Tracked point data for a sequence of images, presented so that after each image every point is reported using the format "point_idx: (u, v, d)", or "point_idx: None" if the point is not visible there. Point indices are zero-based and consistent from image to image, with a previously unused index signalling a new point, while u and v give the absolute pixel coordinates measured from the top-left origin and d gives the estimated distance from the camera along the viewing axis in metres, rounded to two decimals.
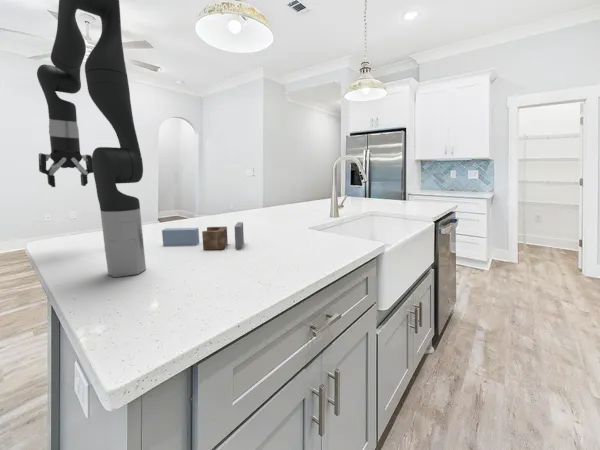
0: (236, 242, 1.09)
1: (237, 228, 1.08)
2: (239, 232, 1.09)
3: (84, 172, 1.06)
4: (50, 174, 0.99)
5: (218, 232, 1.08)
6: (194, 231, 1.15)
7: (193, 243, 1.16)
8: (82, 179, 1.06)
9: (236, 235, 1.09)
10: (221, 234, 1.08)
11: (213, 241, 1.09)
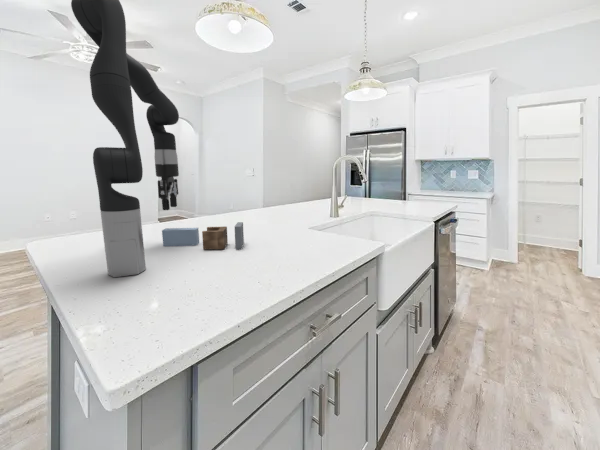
0: (236, 242, 1.09)
1: (237, 228, 1.08)
2: (239, 232, 1.09)
3: None
4: None
5: (218, 232, 1.08)
6: (194, 231, 1.15)
7: (193, 243, 1.16)
8: None
9: (236, 235, 1.09)
10: (221, 234, 1.08)
11: (213, 241, 1.09)
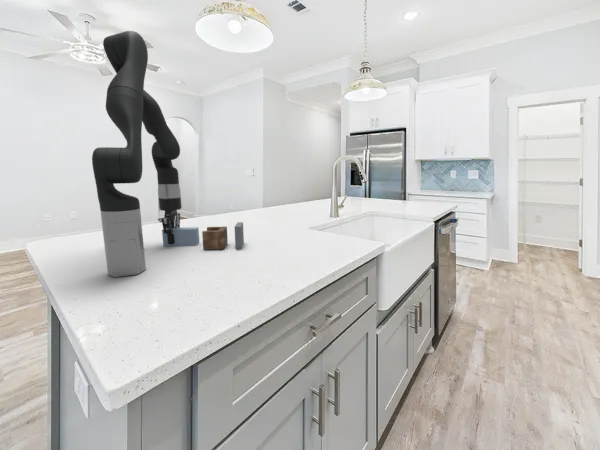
0: (236, 242, 1.09)
1: (237, 228, 1.08)
2: (239, 232, 1.09)
3: None
4: None
5: (218, 232, 1.08)
6: (194, 230, 1.15)
7: (193, 242, 1.16)
8: None
9: (236, 235, 1.09)
10: (221, 234, 1.08)
11: (213, 241, 1.09)
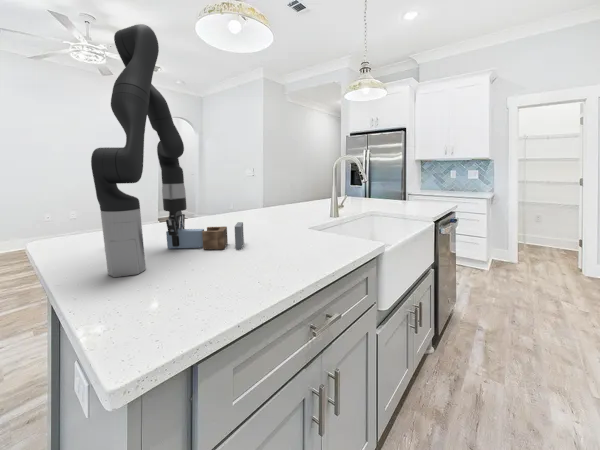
0: (236, 242, 1.09)
1: (237, 228, 1.08)
2: (239, 232, 1.09)
3: None
4: None
5: (218, 232, 1.08)
6: (200, 232, 1.10)
7: (199, 245, 1.11)
8: None
9: (236, 235, 1.09)
10: (221, 234, 1.08)
11: (213, 241, 1.09)
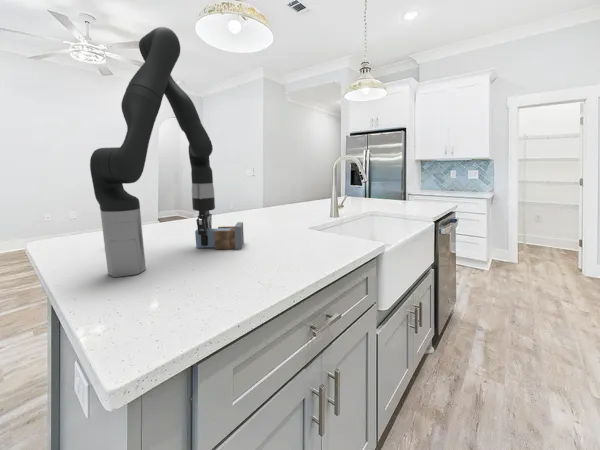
0: (236, 242, 1.09)
1: (237, 228, 1.08)
2: (239, 232, 1.09)
3: None
4: None
5: (230, 232, 1.08)
6: None
7: None
8: None
9: (236, 235, 1.09)
10: (233, 234, 1.09)
11: (225, 241, 1.09)
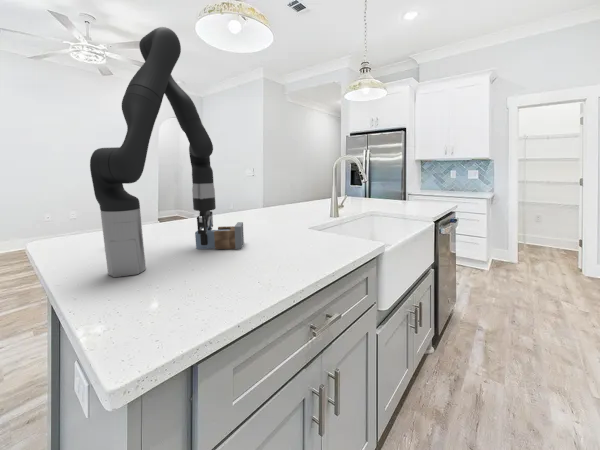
0: (236, 242, 1.09)
1: (237, 228, 1.08)
2: (239, 232, 1.09)
3: None
4: None
5: (230, 232, 1.08)
6: None
7: None
8: None
9: (236, 235, 1.09)
10: (233, 234, 1.09)
11: (225, 241, 1.09)
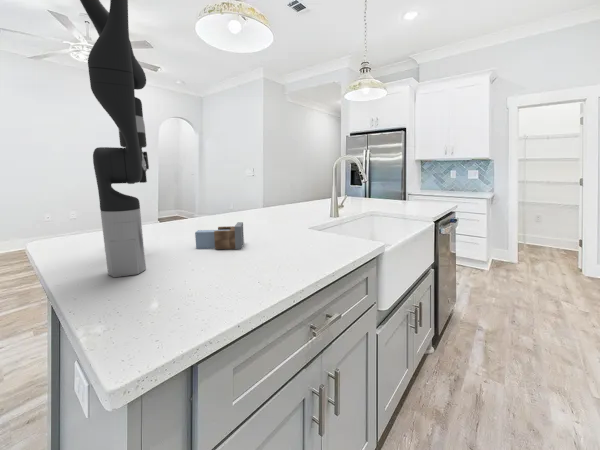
0: (236, 242, 1.09)
1: (237, 228, 1.08)
2: (239, 232, 1.09)
3: None
4: None
5: (230, 232, 1.08)
6: None
7: None
8: None
9: (236, 235, 1.09)
10: (233, 234, 1.09)
11: (225, 241, 1.09)
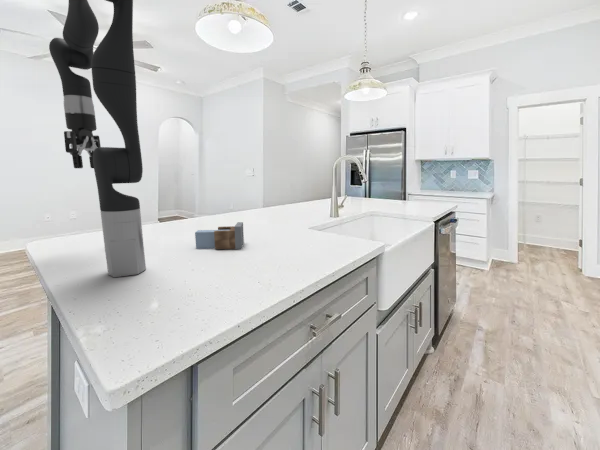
0: (236, 242, 1.09)
1: (237, 228, 1.08)
2: (239, 232, 1.09)
3: None
4: None
5: (230, 232, 1.08)
6: None
7: None
8: None
9: (236, 235, 1.09)
10: (233, 234, 1.09)
11: (225, 241, 1.09)
